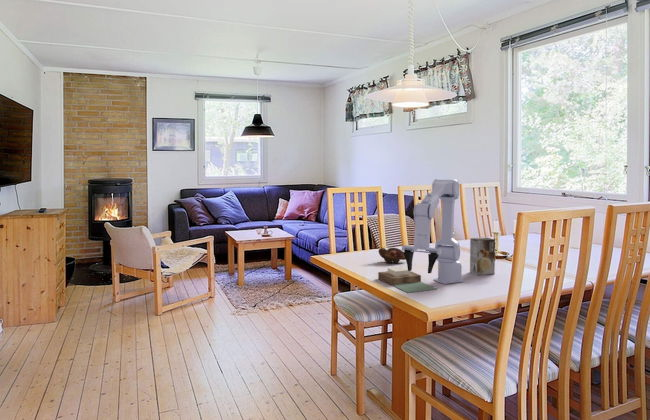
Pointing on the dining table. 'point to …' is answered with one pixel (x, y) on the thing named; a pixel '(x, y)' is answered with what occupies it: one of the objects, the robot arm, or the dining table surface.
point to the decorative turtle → (392, 255)
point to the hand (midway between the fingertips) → (419, 271)
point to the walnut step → (398, 278)
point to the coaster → (398, 271)
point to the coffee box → (482, 256)
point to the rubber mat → (414, 287)
